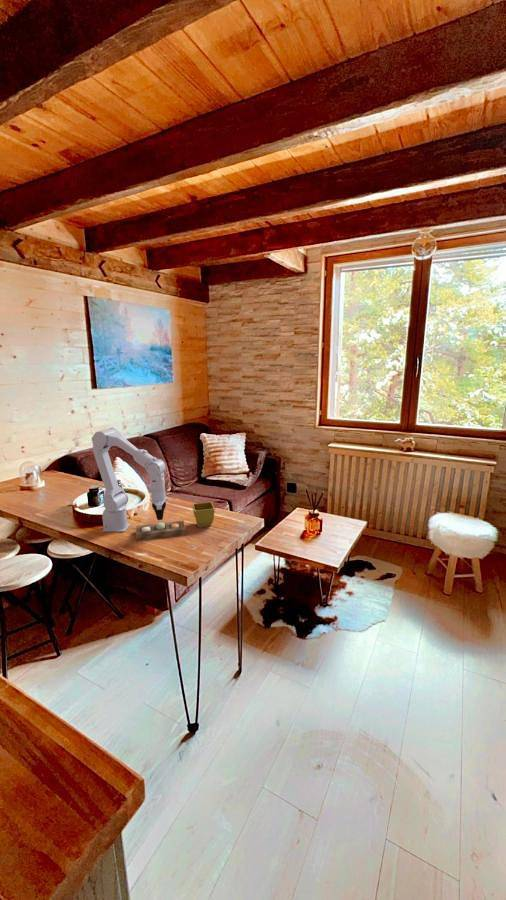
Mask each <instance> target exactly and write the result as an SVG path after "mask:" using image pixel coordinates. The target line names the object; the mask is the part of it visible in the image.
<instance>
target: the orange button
mask: <svg viewBox="0 0 506 900" xmlns="http://www.w3.org/2000/svg"><path fill="white" fill-rule="evenodd" d="M172 528H179V524H177V523H174V524H171V529H172Z"/></svg>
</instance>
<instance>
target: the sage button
mask: <svg viewBox="0 0 506 900" xmlns="http://www.w3.org/2000/svg"><path fill="white" fill-rule="evenodd" d="M165 523H166V522H157V523H155V524H156V530H163V529H165Z"/></svg>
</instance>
